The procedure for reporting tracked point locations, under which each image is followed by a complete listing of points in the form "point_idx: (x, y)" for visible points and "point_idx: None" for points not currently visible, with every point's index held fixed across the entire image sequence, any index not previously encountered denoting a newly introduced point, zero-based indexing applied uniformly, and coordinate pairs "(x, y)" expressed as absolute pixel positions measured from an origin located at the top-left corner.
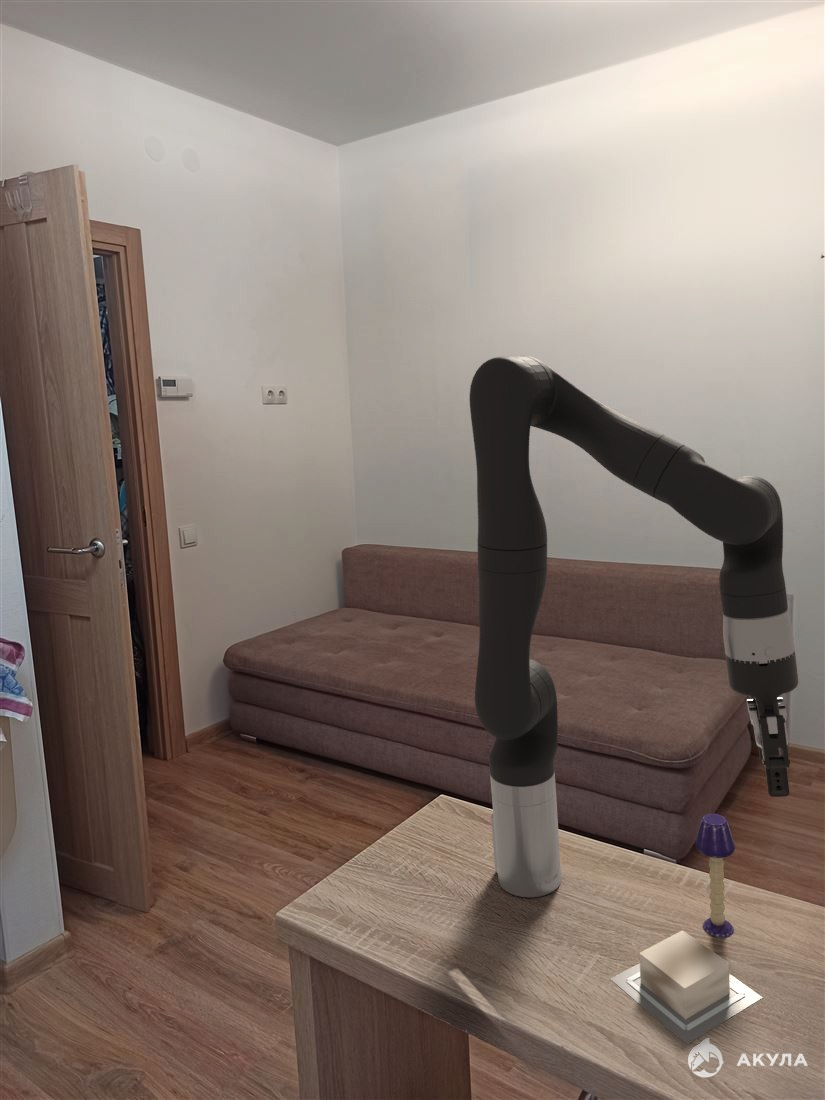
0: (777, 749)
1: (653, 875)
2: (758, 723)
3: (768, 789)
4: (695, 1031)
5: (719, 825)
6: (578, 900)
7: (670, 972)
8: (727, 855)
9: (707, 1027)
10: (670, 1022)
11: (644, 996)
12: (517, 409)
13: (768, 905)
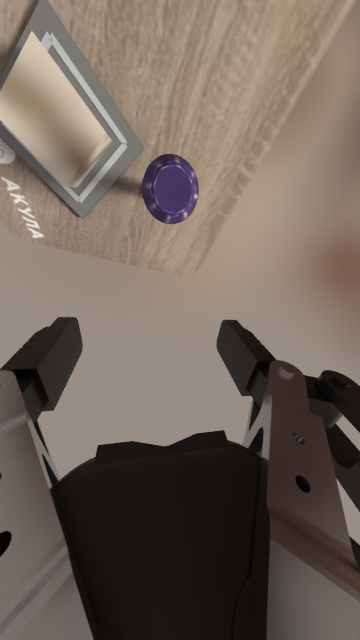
0: (226, 366)
1: (262, 131)
2: (107, 529)
3: (52, 324)
4: (6, 134)
5: (154, 197)
6: None
7: (12, 90)
8: (147, 208)
9: (18, 151)
10: None
11: None
12: None
13: (204, 249)
